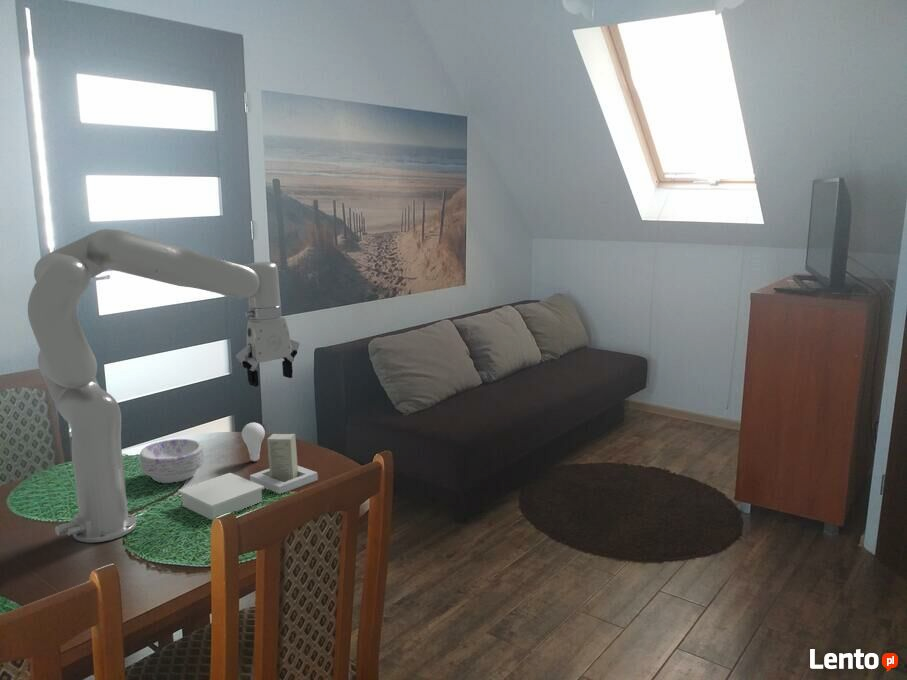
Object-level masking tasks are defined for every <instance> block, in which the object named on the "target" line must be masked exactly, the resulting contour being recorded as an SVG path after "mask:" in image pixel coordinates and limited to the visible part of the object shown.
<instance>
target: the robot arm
mask: <svg viewBox="0 0 907 680" xmlns="http://www.w3.org/2000/svg"><path fill="white" fill-rule="evenodd" d="M278 269H279V268H278V265H277V264H276V263H275V262H273V261H272V262H271V261H257V262H251V263H248V264H238V263H235V262H231V261H227V260H224V259H221V258H217V257H213V256H209V255H206V254H203V253H200V252H196V251H195V250H191V249H189V248H184V247H182V246H178V245H176V244H171V243H167V242H165V241H160V240H157V239H153V238H149V237H146V236H142V235H139V234H135V233H132V232H129V231H124V230H120V229H111V228H105V229H99V230H96V231H94V232H91V233H90V234H87V235H86V236H84V237H81V238H79V239H76V240H75V241H73V242H69V243H68V244H66V245H64V246H61V247H59V248H56V249H55V250H53V251H51V252H49V253H47V254H45V255H43V256H42V257H41V258H40V259H38V261H37V262H36V264H35V266H34V270H33V277H34V280H35V284H33V287H32V290H31V291H30V294H29V296H28V302H27V318H28V320H29V324H30V327H31V330H32V332H33V335H34V337H35V340H36V343H37V345H38V348H39V352H38V354H37V365H38V369H39V372H40V374H41V376H42V379H43V381H44V383H45V385H46V389H48V392H49V394H50V396H51V398H52V401H53V403H54V404H55V407H56V409H57V411H58V412H59V414H60V416H61V417H62V418H63V419H64V420H65V421H66V422H67V423H68V424H69V425H70V429H71V459H72V466H73V474H74V482H75V483H74V484H75V491H76V500H77V509H78V513H75V514H73V519H71V520H70V521H69V522H67V523H62V524H59V525H57V526H55V528H54V531H55V534H56V535H57V536H61V535H63V534H67V535H68V536H69V537H70V536H72V537H73V539H74V540H76V541H78V542H82V543H90V544H91V543H101V542H107V541H113V540H115V539H118V538H121V537H124V536H126V535H128V534H129V533H131V532H132V531H133V530H135V528H136V527H137V518H136V517H135V516H134V515H132V514H130V513H129V509H128V500H127V490H126V481H125V480H126V479H125V468H124V460H123V451H122V450H123V449H122V412H121V408H120V405H119V403H118V402H117V400H116V399H115V398H114V397H113V395H112V394H110V393H109V392H107V391H106V390H104V389H103V388H101V386H100V385H99V383H98V379H97V377H96V376H97V373H98V362H97V359H96V356H95V354H94V352H93V350H92V348H91V346H90V344H89V342H88V339H87V337H86V335H85V332H84V330H83V327H82V326H81V325H82V324H81V322H80V320H79V316H78V312H77V307H78V303H79V300H80V298H81V297H82V295H83V294H84V293H85V291H87V289H88V288H89V285H90V284H91V283H90V282H91V279H93V278H95V277H97V276H98V275H100V274H102V273H103V272H106V271H107V270H113V271H116V272H120V273H125V274H129V275H131V276H132V275H133V276H137V277H141V278H145V279H149V280H153V281H156V282H161V283H164V284H169V285H173V286H178V287H182V288H183V287H184V288H192V289H198V290H203V291H207V292H211V293H215V294H219V295H222V296H226V297H230V298H235V299H239V300H247V299H248V311H245V312H244V315H245V317H246V318H249V320H247V325H246V346H245V347H243V349H241V350H240V351H239V352H238V353H236V354H235V357H236V360H237V361H238V363H239V365H240V366H242V367H243V368H244V369H245V370H246V371H247V380H248V383H249V385H250V386H253V387H255V388H256V387H259V385H260V384H259V383H260V382H259V372H258V370H257V367H258V365H259V364H260V363H265V362H270V361H275V360H280V359H283V360H282V363H281V365H282V367H281V368H282V375H283V377H285V378H288V379H291V378H293V372H294V371H293V363H294V361H295V357H296V356H297V354H298V350H299V348H300V342H298V341H296V340H293V339H291V337H290V332H289V326H288V324H287V320H286V316H282V304H281V294H280V280H279V278H280V277H279V270H278ZM246 356H247V358H248V360H246Z"/></svg>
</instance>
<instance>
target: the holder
mask: <svg viewBox="0 0 907 680" xmlns="http://www.w3.org/2000/svg"><path fill="white" fill-rule="evenodd" d="M249 480H250V481H252V482H255V483H257V484H260V485H262V486H264V487H265V488H268V489H270V490H272V491H274V492H273V493H275V492H276V493H275V494H277V493H278V494H277V495H282V494H284V492H285V493H287V492H289V491H292V490H296V489H298V488H300V487H303V486H306V485H308V484H311V483H314V482H316V481H318V480H319V475H318V472H317V471H314V470H311V469H309V468H306V467H303V466H300V465H298V477H297V478H294V479H291V480H289V481H286V482H282V481H279V480H277V479H274V478H271V477H270V468H267V469H264V470H261V471H258V472H256V473H252V474H249ZM265 488H264V489H265ZM270 490H269V491H270ZM272 491H271V492H272ZM281 493H282V494H281Z"/></svg>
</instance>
